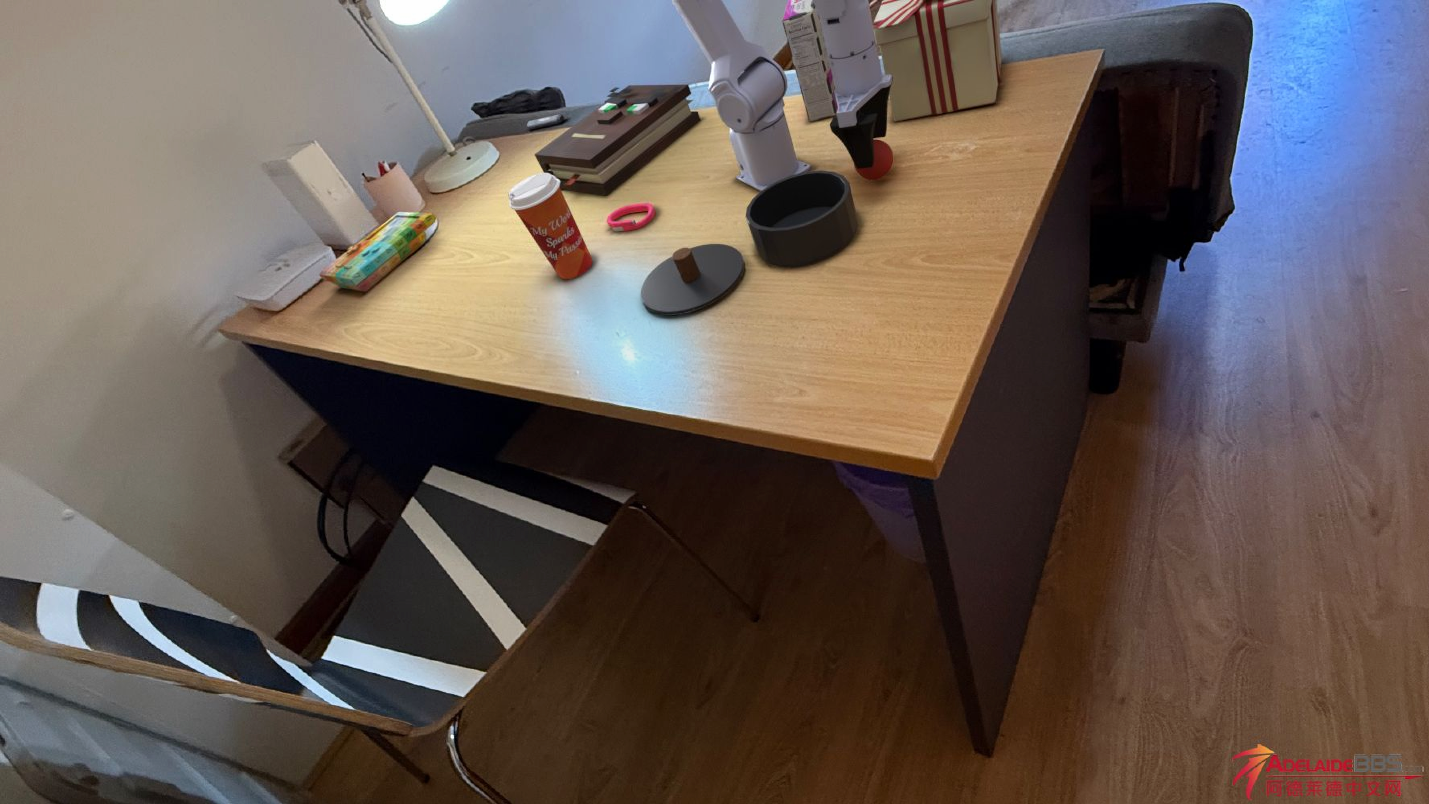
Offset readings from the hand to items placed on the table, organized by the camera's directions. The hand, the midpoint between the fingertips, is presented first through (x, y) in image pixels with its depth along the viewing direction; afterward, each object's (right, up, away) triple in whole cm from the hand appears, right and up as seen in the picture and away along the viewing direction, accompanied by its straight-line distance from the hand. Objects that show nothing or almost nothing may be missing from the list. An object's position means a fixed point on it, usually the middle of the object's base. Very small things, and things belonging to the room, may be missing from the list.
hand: (871, 151), depth 95 cm
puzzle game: (-82, -7, +40) cm, 91 cm away
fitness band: (-34, -5, +18) cm, 38 cm away
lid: (-24, -17, -1) cm, 29 cm away
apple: (0, -1, +1) cm, 1 cm away
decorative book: (-37, +13, +38) cm, 55 cm away
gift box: (+13, +13, +13) cm, 23 cm away
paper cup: (-42, -13, +13) cm, 45 cm away
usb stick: (-58, +29, +66) cm, 93 cm away
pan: (-9, -12, -2) cm, 15 cm away
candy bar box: (-2, +16, +24) cm, 29 cm away
